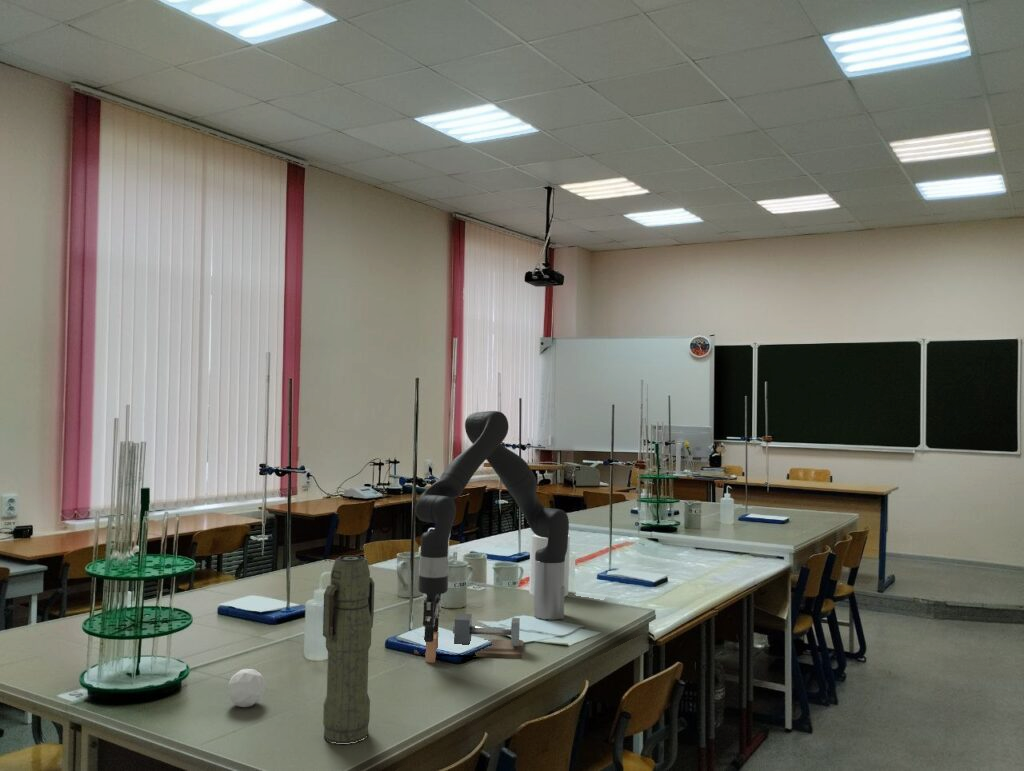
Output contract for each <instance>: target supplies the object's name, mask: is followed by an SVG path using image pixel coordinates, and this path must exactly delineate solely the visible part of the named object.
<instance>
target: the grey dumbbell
mask: <svg viewBox="0 0 1024 771" xmlns="http://www.w3.org/2000/svg"><path fill="white" fill-rule="evenodd" d="M520 620H521V619H520V617H512V619H511V627H505V626H504V627H501V626H500V627H498V626H497V627H496V626H474V625H473V626H470V634H471V635H480V636H481V635H484V636H487V635H489V636H510V640H511V646H519V640H520V624H521V623H520ZM454 626H455V625H453V626H452V627H453V628H452V634H454Z"/></svg>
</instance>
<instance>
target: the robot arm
mask: <svg viewBox="0 0 1024 771" xmlns="http://www.w3.org/2000/svg"><path fill="white" fill-rule="evenodd" d="M464 428H465V433H466V436H467V438H468V440H469V441H470V442H471V443H472V444H471V445H470V446H469V447H467V449H465V450H464V451H462V452H461V453H460V454H458V455H457V456H456V457H455V458H454V459H452V460H451V461H450V463H449V464H448V465H447V467H446V468H445V470H444V471H443V472H442V474H441V476H440V477H439V478H438V480H437V481H436V482H434V483H432V484H431V485H430V486H429V487H428V488H427V489H426V490H425V491H423V492H422V493H421V495H420V496H419V497H418V499H417V501H416V503H415V506H414V512H415V516H416V517H417V518H418V519H419V520H420V521H421V522H425V523H434V524H435V526H434V529H433V530H430V531H426V532H425V531H424V532H423V533H422V535H421V537H420V554H419V555H420V556H419V557H420V558H419V563H418V585H417V586H418V587H417V588H418V590H417V591H418V592H419V593H421V594H425V595H426V597H425V598H424V600H423V614H422V615H423V616H422V618H423V620H422V626H423V627H424V636H423V637H424V640H425V642H432V641H433V640H434V632H439V620H440V619H439V618H440V615H441V612H442V610H441V609H442V607H441V606H442V605H441V604H442V595H443V594H445V593H447V592H448V589H449V587H448V586H449V583H448V582H449V557H448V556H449V538H450V535H451V532H452V528H453V524H454V522H455V518H456V515H457V508H456V507H457V506H456V503H455V501H454V499H457V498H459V497H460V496H461V494H463V491H464V490H465V488H466V487H467V485H468V483H469V482H470V481H471V479H472V477H473V476H474V475H475V474H476V472H477V470H478V469H479V468H480V467H481V466H482V465H483V463H484V462H485V461H487V462H488V464H489V465H490V466H491V468H492V469H493V470H494V472H495V474H496V475H497V476H498V477H499V479H500V481H501V482H502V484H503V485H504V487H505V488H506V490H507V491H508V493H509V495H511V497H512V498H513V500H514V501H515V503H516V504H517V506H518V508H519V509H520V512H522V514H523V516H524V518H525V519H526V520H525V521H526V522H527V524H528V525H529V528H530V530H531V531H532V533H535V534H536V535H537V536H540V537H544V538H548V544H547V546H546V547H545V548H542V549H539V550H537V551H536V553H535V590H534V595H533V598H534V600H533V616H534V617H535V618H537V619H540V618H541V620H546V619H548V621H551V620H553V621H554V620H555V621H556V620H561V619H562V620H564V619H565V596H564V590H565V588H564V577H565V555H566V552H567V546H568V535H569V532H570V531H569V530H570V521H569V520H570V519H569V515H568V513H567V512H566V511H565V510H563V509H559V508H553V507H552V508H551V507H546V506H544V505H543V504H542V502H541V501H540V500H539V498H538V496H537V487H538V483H537V477H536V475H535V473H534V472H533V471H532V469H531V467H530V465H529V464H528V463H527V461H526V460H524V458H523V457H521V456H519V455H518V454H517V453H515V452H513V451H512V450H510V449H509V448H507V447H506V446H504V445H503V444H502V443H503V441H505V439H506V438H507V435H508V432H509V422H508V419H507V417H506V415H505V414H504V413H503V412H502V411H497V410H490V411H487V410H486V411H478V412H473V413H471V414H469V415H467V417H466V418H465V422H464ZM428 619H429V620H428Z"/></svg>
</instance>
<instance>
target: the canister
mask: <svg viewBox="0 0 1024 771" xmlns="http://www.w3.org/2000/svg"><path fill="white" fill-rule="evenodd" d="M529 541H530V542H529V543H530V544H529V545H530V546H529V548H530V549H529V550H530V551H529V587H528V588H529V590H528V591H529V592H528V593H529V594H530V595H531V596H534V590H535V553H536V551H537V550H539V549H542V548H545V547H546V546H547V544H548V538H544V537H540V536H537V535H536V534H535V533H534V532H532V533H530V540H529ZM569 576H570V534H568V546H567V552H566V555H565V577H564V588H565V590H564V597H566V596H568V595H569V578H570V577H569Z"/></svg>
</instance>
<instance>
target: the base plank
mask: <svg viewBox="0 0 1024 771" xmlns="http://www.w3.org/2000/svg"><path fill="white" fill-rule="evenodd" d="M483 639H484V640H488V641H491V642H492V645H491V646H488V647H486V648H484V649H481V650H480V651H477V652H475V655H476V656H475V657H477V658H480V657H481V658H503V659H505V658H506V659H507V658H508V659H522V658H523V648H524V640H523V639H522V640H520V639H519V646H511V639H499V638H498V639H495V638H494V639H493V638H492V639H491V638H483ZM413 652H414V653H413V654H414V655H420V654H419V652H418V651H417V650H415V649H414V651H413Z"/></svg>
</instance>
